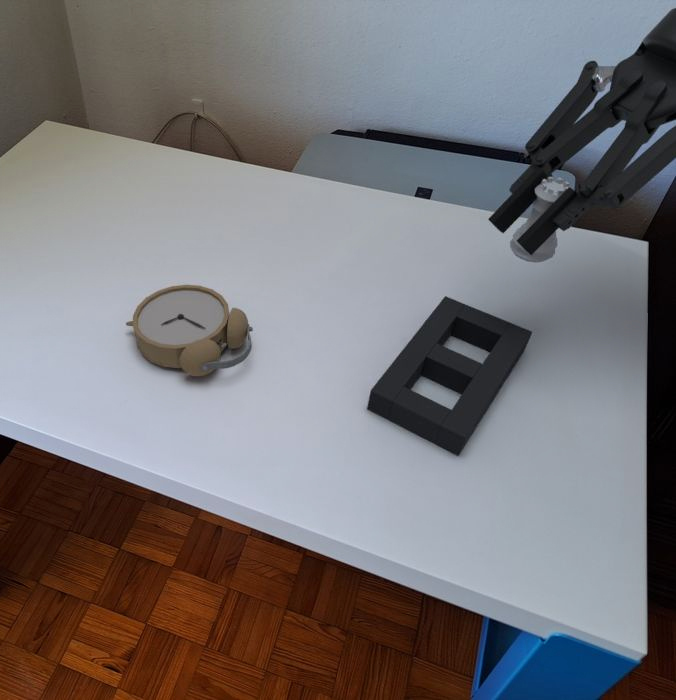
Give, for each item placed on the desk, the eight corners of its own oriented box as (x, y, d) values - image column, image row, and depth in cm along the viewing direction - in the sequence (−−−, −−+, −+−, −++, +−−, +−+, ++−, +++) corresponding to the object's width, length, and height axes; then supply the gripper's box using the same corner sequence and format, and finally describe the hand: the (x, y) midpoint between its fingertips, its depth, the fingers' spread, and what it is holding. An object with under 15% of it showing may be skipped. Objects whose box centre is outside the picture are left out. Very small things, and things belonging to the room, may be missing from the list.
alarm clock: (176, 273, 84) (272, 307, 76) (183, 305, 87) (277, 341, 79) (110, 322, 79) (206, 365, 70) (121, 355, 82) (214, 400, 73)
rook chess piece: (524, 232, 73) (547, 166, 67) (562, 252, 71) (590, 184, 65) (499, 250, 71) (521, 183, 65) (538, 270, 69) (564, 202, 63)
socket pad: (524, 350, 77) (532, 331, 75) (458, 456, 68) (465, 438, 66) (440, 314, 82) (445, 295, 80) (366, 408, 72) (370, 390, 70)
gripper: (624, -24, 63) (440, 180, 70) (797, 38, 52) (559, 270, 60) (643, 25, 68) (469, 210, 75) (803, 90, 57) (584, 298, 65)
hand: (509, 236), depth 68 cm, fingers closed on rook chess piece, 3 cm apart
